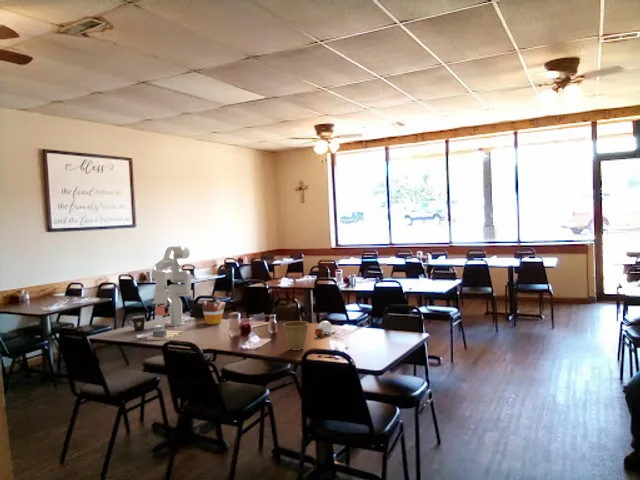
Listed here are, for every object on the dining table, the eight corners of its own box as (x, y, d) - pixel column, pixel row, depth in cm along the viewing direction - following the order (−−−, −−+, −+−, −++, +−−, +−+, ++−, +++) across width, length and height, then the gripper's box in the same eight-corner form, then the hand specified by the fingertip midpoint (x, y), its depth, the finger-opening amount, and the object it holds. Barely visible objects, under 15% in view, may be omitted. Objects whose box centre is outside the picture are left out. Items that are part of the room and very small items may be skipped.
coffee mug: (147, 328, 375) (146, 315, 374) (142, 331, 366) (141, 318, 366) (132, 329, 376) (132, 315, 376) (127, 331, 367) (126, 318, 367)
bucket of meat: (210, 320, 401) (209, 295, 400) (228, 320, 396) (227, 296, 396) (197, 325, 381) (196, 299, 381) (217, 326, 377) (216, 300, 376)
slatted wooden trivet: (162, 332, 360) (162, 330, 360) (182, 333, 357) (182, 331, 357) (146, 339, 341) (146, 337, 340) (168, 340, 337) (168, 337, 337)
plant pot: (289, 345, 312) (288, 320, 312) (311, 346, 308) (311, 321, 307) (280, 352, 298) (279, 325, 297) (304, 353, 294) (303, 326, 293)
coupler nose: (156, 335, 344) (155, 330, 344) (166, 335, 343) (166, 330, 343) (152, 337, 341) (152, 331, 340) (163, 337, 339) (163, 331, 339)
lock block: (161, 313, 357) (161, 305, 357) (169, 313, 356) (168, 305, 356) (155, 315, 349) (155, 307, 349) (163, 315, 348) (162, 307, 348)
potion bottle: (330, 334, 345) (321, 342, 332) (319, 326, 348) (309, 333, 334) (336, 324, 342) (327, 332, 328) (325, 316, 344) (316, 323, 331)
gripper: (175, 287, 354) (176, 312, 354) (153, 287, 358) (154, 311, 358) (169, 288, 346) (170, 314, 347) (147, 288, 351) (148, 313, 351)
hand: (162, 312), depth 353 cm, fingers closed on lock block, 6 cm apart
